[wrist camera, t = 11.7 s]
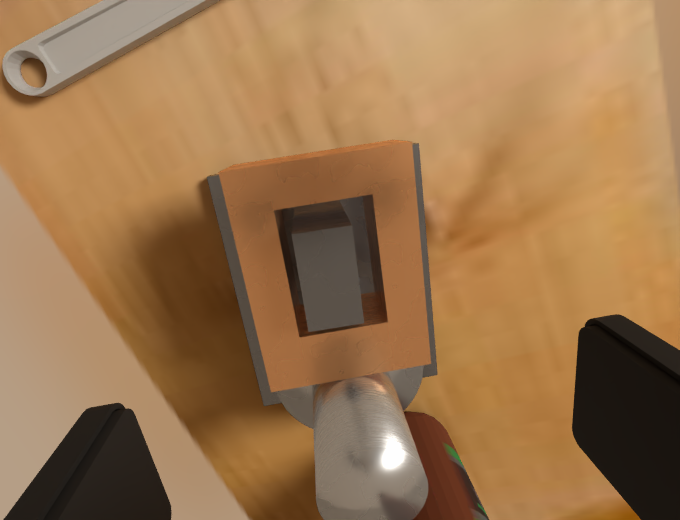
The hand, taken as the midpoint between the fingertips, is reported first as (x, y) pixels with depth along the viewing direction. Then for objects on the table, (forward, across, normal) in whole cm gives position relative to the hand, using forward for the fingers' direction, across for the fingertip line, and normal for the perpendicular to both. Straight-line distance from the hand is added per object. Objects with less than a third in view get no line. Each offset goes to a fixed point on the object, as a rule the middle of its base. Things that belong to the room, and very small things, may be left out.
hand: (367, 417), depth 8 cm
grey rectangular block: (+20, 0, +1) cm, 20 cm away
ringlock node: (+21, 0, +5) cm, 22 cm away
